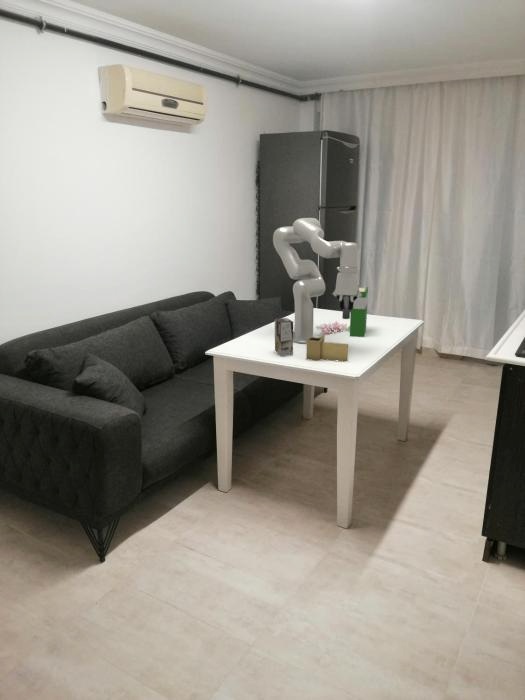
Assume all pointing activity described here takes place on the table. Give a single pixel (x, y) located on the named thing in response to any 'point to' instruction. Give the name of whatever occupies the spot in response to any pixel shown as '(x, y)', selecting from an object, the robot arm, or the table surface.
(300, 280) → the robot arm
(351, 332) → the hardback book
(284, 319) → the coffee box
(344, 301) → the pin
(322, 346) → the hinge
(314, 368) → the table surface
